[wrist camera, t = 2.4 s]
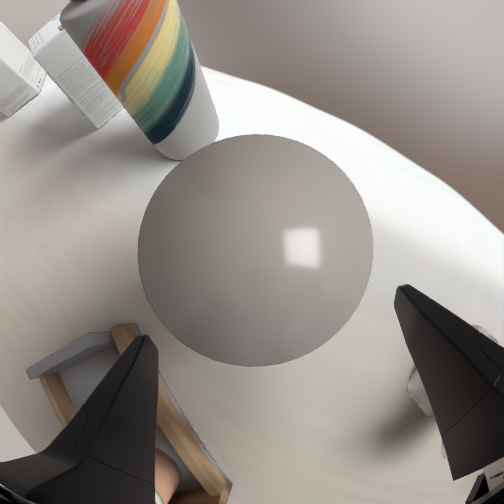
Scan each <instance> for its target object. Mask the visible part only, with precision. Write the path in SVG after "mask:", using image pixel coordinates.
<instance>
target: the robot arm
mask: <svg viewBox="0 0 504 504" xmlns="http://www.w3.org/2000/svg"><path fill="white" fill-rule="evenodd" d="M394 308H395V311H396V314H397V317H398V320H399V323H400V326H401V329H402V332H403V335H404V338H405V341H406V344H407V347H408V349H409V352H410V354H411V356H412V359H413V361H414V363H415V366H416V368H417V371H418V373H419V376H420V378H421V381H422V383H423V386H424V388H425V391H426V394H427V396H428V399H429V402H430V405H431V408H432V410H433V413H434V416H435V419H436V422H437V425H438V428H439V431H440V434H441V438H442V441H443V445H444V448H445V452H446V455H447V459H448V462H449V466H450V470H451V474H452V478H453V481H454V480H457V479H459V478H462V477H464V476H466V475H469V474H471V473H473V472H475V471H478V470H480V469H482V468H483V469H484V472H483V473H482V474H480V475H479V476H478V477H477V479H476V482H475V484H474V486H473V488H472V490H471V492H470V494H469V496H468V498H467V500H466V502H465V503H466V504H504V347H502V346H500V345H499V344H497V343H496V342H494V341H493V340H491V339H490V338H488V337H487V336H486V335H484V334H483V333H481V332H479V331H478V330H477V329H476V328H474V327H473V326H471V325H470V324H468V323H467V322H465V321H464V320H463V319H461V318H460V317H458V316H457V315H455V314H454V313H452V312H451V311H449V310H448V309H446V308H445V307H443V306H442V305H440V304H439V303H437V302H436V301H434V300H433V299H431V298H429V297H428V296H426V295H425V294H423V293H422V292H420V291H419V290H417V289H415V288H414V287H412V286H411V285H409V284H405V285H401V286H398V287H397V290H396V295H395V300H394ZM158 391H159V380H158V350H157V348H156V346H155V345H154V343H153V342H152V340H151V339H150V337H149V336H148V335H146V334H144V335H137V336H136V337H135V338H134V339H133V340H132V342H131V343H130V344H129V345H128V347H127V348H126V349H125V350H124V352H123V353H122V354H121V356H120V357H119V358H118V359H117V361H116V362H115V363H114V365H113V366H112V367H111V368H110V370H109V371H108V372H107V374H106V375H105V376H104V377H103V379H102V380H101V381H100V383H99V384H98V385H97V387H96V388H95V389H94V391H93V392H92V393H91V395H90V396H89V397H88V399H87V400H86V401H85V404H83V405H82V407H81V408H80V409H79V411H78V412H77V413H76V415H75V416H74V417H73V418H72V420H71V421H70V422H69V423H68V424H67V426H66V427H65V428H64V429H63V430H62V431H61V433H60V434H59V435H58V436H57V437H56V438H55V439H54V440H53V442H52V443H51V444H50V445H49V446H48V447H47V448H46V449H45V450H43V451H41V452H39V453H37V454H33V455H30V456H26V457H22V458H19V459H15V460H11V461H6V462H0V484H2V485H3V486H5V487H6V488H5V487H3V486H1V485H0V504H156V503H155V447H156V423H157V406H158Z"/></svg>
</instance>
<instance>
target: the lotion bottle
mask: <svg viewBox="0 0 504 504" xmlns="http://www.w3.org/2000/svg"><path fill="white" fill-rule="evenodd" d="M70 1H71V2H70V3H69V4H68V5H67V6H66V7H65V8H64V9H63V11H62V12H61V14H60V18H59V20H60V23H61V24H62V26H63V27H64V29H65V30H66V32H67V33H68V34H69V36H70V37H71V39H72V40H73V41H74V43H75V44H76V45H77V47H78V48H79V49H80V51H81V52H82V53H83V55H84V56H85V57H86V58H87V60H88V61H89V62H90V64H91V65H92V66H93V68H94V69H95V70H96V72H97V73H98V74H99V75H100V77H101V78H102V79H103V81H104V82H105V83H106V85H107V86H108V87H109V88H110V90H111V91H112V92H113V94H114V95H115V96H116V98H117V99H118V100H119V101H120V103H121V104H122V105H123V107H124V108H125V109H126V110H127V112H128V113H129V114H130V116H131V117H132V118H133V119H134V121H135V122H136V123H137V125H138V126H139V127H140V128H141V130H142V131H143V132H144V134H145V135H146V136H147V137H148V139H149V140H150V141H151V142H152V144H153V145H154V146H155V147H156V149H157V150H158V151H159V152H160V153H161V154H163V155H164V156H166V157H167V158H170V159H174V160H184V159H185V158H187V157H188V156H189V155H191V154H193V153H194V152H196V151H197V150H199V149H201V148H203V147H205V146H207V145H209V144H212V143H213V142H214V141H215V139H216V137H217V135H218V131H219V121H218V117H217V114H216V110H215V107H214V104H213V101H212V99H211V96H210V93H209V90H208V87H207V84H206V81H205V79H204V76H203V73H202V70H201V67H200V64H199V62H198V59H197V56H196V53H195V50H194V48H193V45H192V42H191V39H190V36H189V33H188V31H187V28H186V25H185V22H184V20H183V17H182V14H181V11H180V9H179V6H178V3H177V0H70Z"/></svg>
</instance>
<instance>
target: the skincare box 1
mask: <svg viewBox="0 0 504 504" xmlns="http://www.w3.org/2000/svg"><path fill="white" fill-rule="evenodd" d="M46 74H47V73H46V72H45V70H44V69H43V68H42V67H41V66H40V64H39V63H38V62H37V61H36V60H35V59H34V58H33V55H32V53H31V52H30V51H29V50H28V49H27V48H26V46H25V45H23V44H22V43H21V42H20V41H19V40H18V39H17V38H16V36H15V35H14V34H12V32H10V30H9V29H7V27H6V26H5V25H4V24H3V23H2V22H0V112H2V113H3V114H4V115H6V116H7V117H10V116H11V115H12V114H13V113H15V112H16V111H17V110H18V109H19V108H21V107H22V106H23V105H24V104H26V103H27V102H28V101H30V100H31V99H32V98H34V97H35V96H36V95H38V94H39V92H40V90H41V87H42V84H43V82H44V79H45V76H46Z"/></svg>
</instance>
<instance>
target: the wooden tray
mask: <svg viewBox="0 0 504 504" xmlns="http://www.w3.org/2000/svg"><path fill="white" fill-rule="evenodd" d="M109 330H110V332H111V334H112V336H113V339H114V341H115V343H116V344H114V345H112V346H110V347H108V348H106V349H105V350H103V351H101V352H99V353H97V354H95V355H93V356H91V357H89V358H87V359H85V360H83V361H81V362H79V363H77V364H75V365H73V366H71V367H69V368H67V369H65V370H63V371H62V372H60V373H56V374H51V375H47V376H43V377H39V378H40V380H41V382H42V385H43V387H44V389H45V392H46V394H47V396H48V398H49V400H50V402H51V405H52V407H53V409H54V411H55V413H56V415H57V417H58V419H59V420H60V422H61V424H62V426H63V428H65V427H66V426H67V424H68V423H69V422H70V421H71V420H72V418H73V417H74V416H75V415H76V413H77V412H78V411H79V409H80V408H81V407H82V405H83V404H85V401H86V400H87V399H88V397H89V396H90V395H91V393H92V392H93V391H94V389H95V388H96V387H97V385H98V384H99V383H100V381H101V380H102V379H103V377H104V376H105V375H106V374H107V372H108V371H109V370H110V368H111V367H112V366H113V365H114V363H115V362H116V361H117V359H118V358H119V357H120V356H121V354H122V353H123V352H124V350H125V349H126V348H127V347H128V345H129V344H130V343H131V342H132V340H133V339H134V338H135V337H136V336H137V335H141V334H140V331H139V329H138V327H137V325H136V323H133V324H122V325H117V326H115V327H113V328H111V329H109ZM158 380H159V391H158V406H157V423H156V448H158V449H160V450H162V451H164V452H165V453H167V454H168V455H169V456H170V457H171V458H172V459H173V460H174V461H175V462H176V463H177V465H178V466H179V468H180V470H181V474H182V481H181V483H180V485H179V486H178V488H177V490H176V491H175V493H174V494H173V496H172V497H171V499H170V500H169V502H168V504H227V501H228V498H229V495H230V491H231V488H232V485H233V484H232V483H231V481H230V480H229V479H228V478H227V476H226V475H225V474H224V472H223V471H222V470H221V468H220V467H219V466H218V464H217V463H216V462H215V460H214V459H213V457H212V456H211V455H210V453H209V452H208V450H207V449H206V447H205V446H204V445H203V443H202V442H201V440H200V439H199V437H198V436H197V434H196V433H195V431H194V429H193V428H192V426H191V425H190V423H189V422H188V420H187V418H186V417H185V415H184V414H183V412H182V410H181V409H180V407H179V405H178V404H177V402H176V400H175V399H174V397H173V395H172V393H171V392H170V390H169V388H168V386H167V384H166V383H165V381H164V379H163V377H162V375H161V373H160V372H159V370H158Z"/></svg>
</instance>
